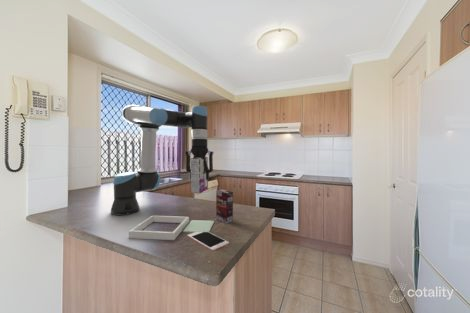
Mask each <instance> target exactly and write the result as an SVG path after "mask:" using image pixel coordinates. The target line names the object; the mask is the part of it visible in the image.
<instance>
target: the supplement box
mask: <svg viewBox="0 0 470 313" xmlns="http://www.w3.org/2000/svg"><path fill="white" fill-rule="evenodd" d="M215 192H216V194H215V196H216V200H215V201H216V205H215V207H216V210H215V212H216V213H215V214H216V216H215V217H216V218H215V219H216V220H218V221H220V222H223V223H226V224H228V223H231V222H233V220H234V215H233V214H234V210H233V209H234V192H233V191H230V190H226V189H219V190H218V189H217V190H216V191H215Z"/></svg>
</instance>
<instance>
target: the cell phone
mask: <svg viewBox="0 0 470 313" xmlns="http://www.w3.org/2000/svg"><path fill="white" fill-rule="evenodd" d="M186 237H187V238H190V239H191V240H193V241H195V242H197V243H198V244H200V245H201V246H203V247H205V248H206V249H208V250H210V251H212V252H214V251H216V250H218V249H221V248H222V247H223V248H224V246H227V245H229V244H230V242H229V241H228V240H225V239H224V238H222V237H220V236H218V235H216V234H215V233H212V232H194V233H189V234H187V236H186Z"/></svg>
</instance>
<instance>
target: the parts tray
mask: <svg viewBox="0 0 470 313" xmlns="http://www.w3.org/2000/svg"><path fill="white" fill-rule="evenodd" d="M152 223H170V224H171V223H172V224H176V223H177V224H178V226H177V227H176V228H175V229H174V230H173V231H161V230H160V231H156V230H144V229H145V228H147V227H148V226H149V225H151V224H152ZM189 223H190V217H189V216H182V215H181V216H180V215H179V216H173V215H151V216H149V217H147V218H146V219H144V220H143V221H142V222H140V223H139V224H137V225H135V226H134V227H132V228H131V229H130V230H128V239H139V240H141V239H143V240H163V241H175V240H176V239H177V237H178V236H179V235H180V233H182V232H183V230H184V229H185V228H186V227H187V225H188V224H189Z"/></svg>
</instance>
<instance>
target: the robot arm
mask: <svg viewBox="0 0 470 313" xmlns="http://www.w3.org/2000/svg"><path fill="white" fill-rule="evenodd" d="M121 115H122V119H124V120H125V121H126V122H127V123H129V124H132V125H138V128H139V129H140V130H141V143H140V144H141V149H140V167H139V169H137V173H136V172H135V171H128V172H121V173H118V174H116V175H114V177H113V201H112V205H111V207H110V214H111V215H113V216H124V215H125V216H126V215H131V214H135V213H137V212H138V211H139V210H140V204H139V202H138V199H137V193H143V192H147V191H149V192H150V191H154V190H156V189H158V188H159V187H160V184H161V180H162V179H161V175H160V173H159V172H158V170H157V169H156V148H157V147H156V145H157V144H156V143H157V132H158V131H159V130H160V127H162V126H164V127H165V126H167V127H168V126H169V127H173V128H174V127H176V128H180V129H189V128H191V138H192V139H191V148H190V150H188V151H185V156H186V157H185V158H186V162H185V163H186V164H185V165H186V167H185V170H186V172H187V173H189V179H190V180H191V155H192V156H193V157H192V158H203V159H204V168H205V171H206V173H204V187H206V186H207V180H208V181H209V179H210V173H212V172H213V171H214V165H213V164H214V163H213V162H214V161H213V156H214V153H215V152H214V151H211V150H209V147H208V139H207V138H208V116H209V115H208V108H207V107H206V106H205V105H193V106H191V111H189V112H183V111H179V110H178V111H177V110H173V109H166V108H163V107H150V106H143V105H138V104H130V105H126V106H124V108H123V109H122V112H121ZM207 155H208V165H209V166H208V165H207V161H206V157H207Z"/></svg>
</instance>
